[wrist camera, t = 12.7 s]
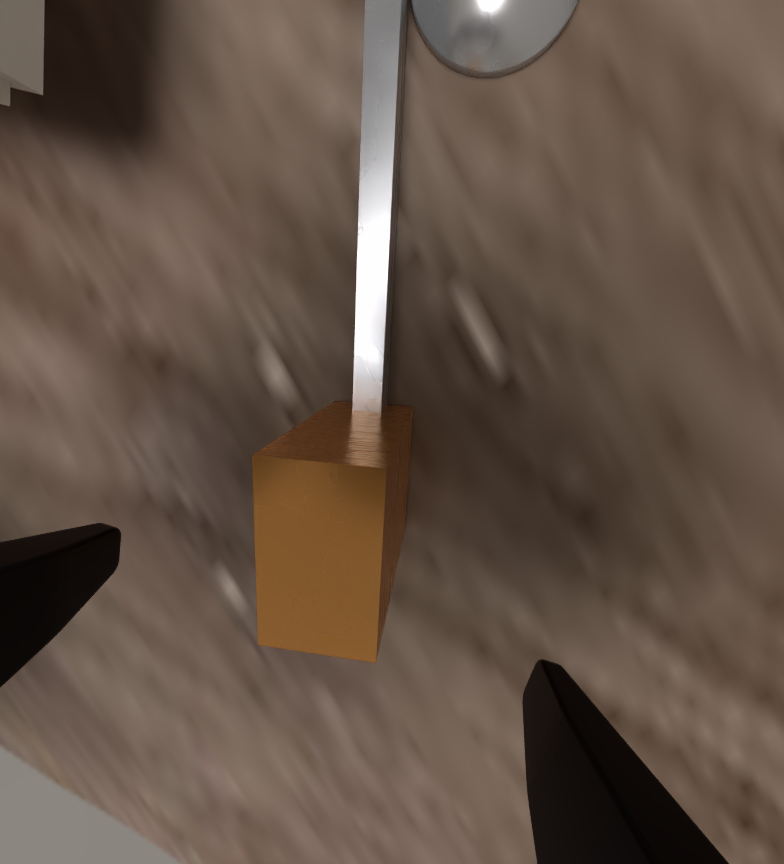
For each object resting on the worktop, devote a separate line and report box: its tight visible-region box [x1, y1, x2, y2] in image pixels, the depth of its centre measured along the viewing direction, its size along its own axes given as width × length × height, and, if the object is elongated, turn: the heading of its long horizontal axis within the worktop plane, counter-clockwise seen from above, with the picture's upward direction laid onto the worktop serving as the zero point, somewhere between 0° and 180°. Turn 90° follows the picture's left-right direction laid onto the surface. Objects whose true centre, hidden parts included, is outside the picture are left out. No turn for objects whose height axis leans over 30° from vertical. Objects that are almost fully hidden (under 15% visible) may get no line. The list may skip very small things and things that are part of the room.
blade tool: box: [252, 0, 414, 663], centre depth 11 cm, size 20×3×7 cm, turn 177°
